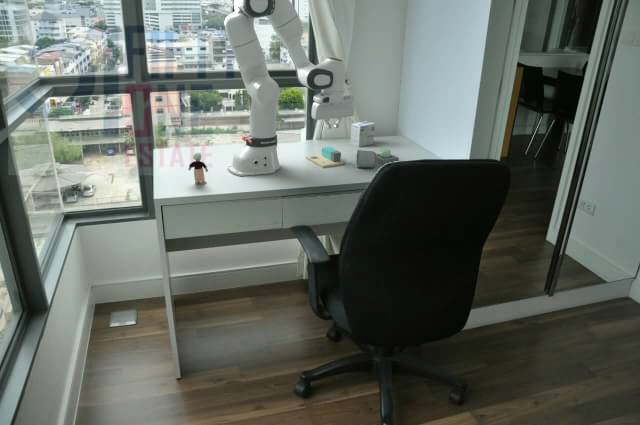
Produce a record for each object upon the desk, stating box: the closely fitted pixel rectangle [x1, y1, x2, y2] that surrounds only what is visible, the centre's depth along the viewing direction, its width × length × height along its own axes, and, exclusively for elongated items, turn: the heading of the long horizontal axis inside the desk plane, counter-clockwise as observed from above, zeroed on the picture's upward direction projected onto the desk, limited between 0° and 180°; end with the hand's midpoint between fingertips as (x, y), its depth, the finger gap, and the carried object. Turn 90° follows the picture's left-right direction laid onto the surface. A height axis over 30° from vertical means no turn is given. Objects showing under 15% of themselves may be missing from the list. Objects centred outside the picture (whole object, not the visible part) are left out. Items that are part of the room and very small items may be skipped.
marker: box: [321, 145, 342, 162], centre depth 229 cm, size 10×4×4 cm, turn 31°
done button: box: [379, 148, 392, 159], centre depth 228 cm, size 5×5×4 cm
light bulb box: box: [350, 120, 376, 148], centre depth 254 cm, size 11×7×11 cm, turn 130°
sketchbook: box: [305, 153, 345, 169], centre depth 228 cm, size 11×15×1 cm
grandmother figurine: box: [187, 151, 209, 186], centre depth 196 cm, size 8×4×13 cm, turn 99°
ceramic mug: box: [355, 149, 377, 169], centre depth 223 cm, size 11×8×8 cm
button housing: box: [376, 152, 400, 167], centre depth 229 cm, size 9×9×3 cm
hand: (332, 127), depth 224 cm, fingers open, 3 cm apart
